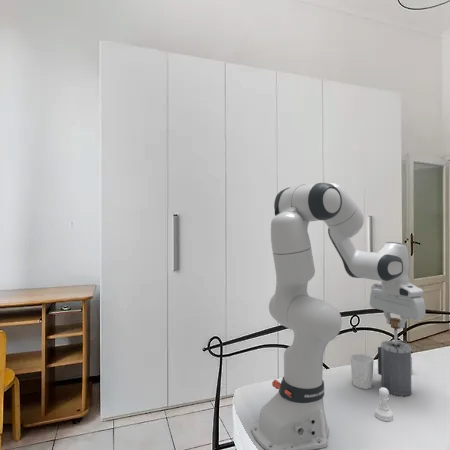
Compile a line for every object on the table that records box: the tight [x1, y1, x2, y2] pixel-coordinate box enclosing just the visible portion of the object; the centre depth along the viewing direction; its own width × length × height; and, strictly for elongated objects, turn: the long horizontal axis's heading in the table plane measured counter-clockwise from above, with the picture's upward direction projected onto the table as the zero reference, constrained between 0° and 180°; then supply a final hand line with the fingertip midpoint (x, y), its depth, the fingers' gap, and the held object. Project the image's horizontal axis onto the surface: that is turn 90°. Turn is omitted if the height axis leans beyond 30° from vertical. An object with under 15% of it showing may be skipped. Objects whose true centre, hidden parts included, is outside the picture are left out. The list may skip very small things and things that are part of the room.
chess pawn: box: [374, 387, 394, 422], centre depth 102 cm, size 5×5×9 cm
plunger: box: [390, 317, 402, 347], centre depth 118 cm, size 7×7×18 cm
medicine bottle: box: [392, 339, 413, 376], centre depth 133 cm, size 7×7×12 cm
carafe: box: [377, 340, 412, 398], centre depth 120 cm, size 10×12×16 cm
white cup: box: [350, 353, 375, 390], centre depth 122 cm, size 8×8×10 cm
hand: (395, 325), depth 118 cm, fingers closed on plunger, 3 cm apart
